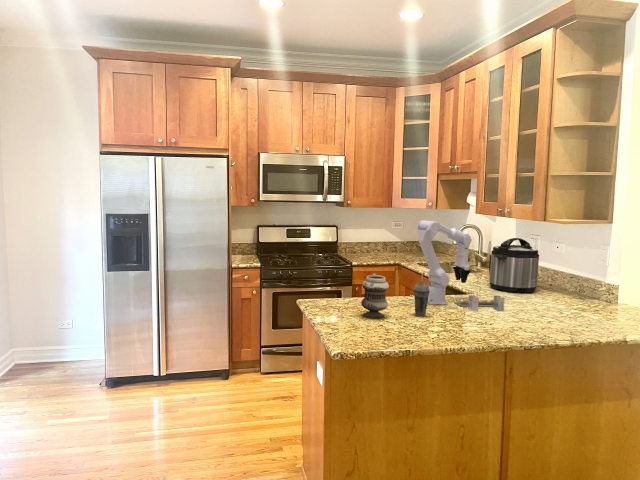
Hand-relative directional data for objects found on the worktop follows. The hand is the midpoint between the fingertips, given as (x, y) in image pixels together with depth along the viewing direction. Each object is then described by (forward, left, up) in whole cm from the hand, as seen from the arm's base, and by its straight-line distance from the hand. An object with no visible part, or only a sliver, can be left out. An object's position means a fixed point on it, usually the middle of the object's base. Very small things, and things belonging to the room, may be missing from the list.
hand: (460, 281), depth 248 cm
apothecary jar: (-53, -34, -11) cm, 64 cm away
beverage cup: (-31, -32, -11) cm, 46 cm away
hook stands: (+6, -19, -10) cm, 23 cm away
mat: (+6, -10, -10) cm, 16 cm away
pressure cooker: (+46, +34, -11) cm, 58 cm away
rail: (+6, -10, -9) cm, 14 cm away
